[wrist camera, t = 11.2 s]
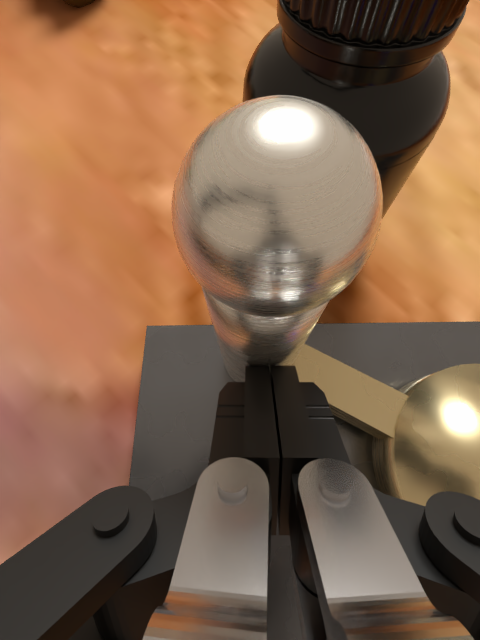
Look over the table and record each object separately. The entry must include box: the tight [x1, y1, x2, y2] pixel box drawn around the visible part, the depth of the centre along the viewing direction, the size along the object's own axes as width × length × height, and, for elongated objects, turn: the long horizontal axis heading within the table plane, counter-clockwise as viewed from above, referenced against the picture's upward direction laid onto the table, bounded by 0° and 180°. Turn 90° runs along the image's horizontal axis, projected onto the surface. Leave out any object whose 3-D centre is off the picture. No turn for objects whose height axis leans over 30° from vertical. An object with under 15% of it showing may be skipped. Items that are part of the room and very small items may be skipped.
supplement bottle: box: [243, 0, 469, 218], centre depth 13 cm, size 7×7×12 cm
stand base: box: [129, 322, 480, 640], centre depth 13 cm, size 23×14×2 cm, turn 90°
